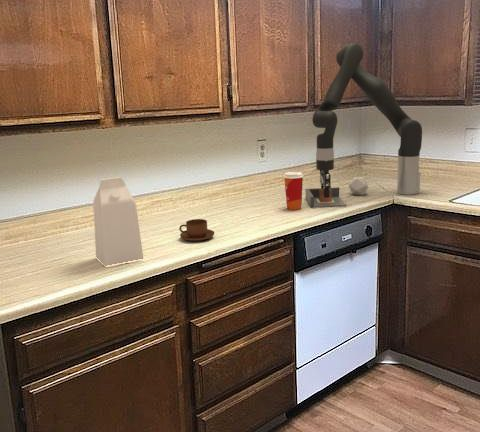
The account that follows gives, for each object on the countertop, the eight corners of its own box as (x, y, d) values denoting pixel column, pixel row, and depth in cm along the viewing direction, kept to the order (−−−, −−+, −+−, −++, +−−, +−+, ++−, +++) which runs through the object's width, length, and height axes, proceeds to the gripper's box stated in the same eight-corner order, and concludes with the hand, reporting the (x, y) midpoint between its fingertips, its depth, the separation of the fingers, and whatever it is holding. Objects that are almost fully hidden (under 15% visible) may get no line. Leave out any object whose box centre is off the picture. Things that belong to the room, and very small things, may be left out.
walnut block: (318, 199, 239) (318, 188, 238) (330, 199, 239) (330, 187, 238) (320, 202, 234) (320, 190, 233) (331, 201, 234) (331, 190, 233)
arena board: (338, 197, 245) (338, 187, 244) (346, 206, 228) (346, 195, 227) (305, 198, 245) (305, 188, 244) (310, 207, 228) (310, 197, 227)
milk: (132, 251, 179) (125, 173, 173) (143, 260, 169) (136, 178, 163) (96, 258, 174) (87, 178, 167) (105, 268, 164) (96, 183, 157)
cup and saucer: (184, 245, 184) (182, 227, 182) (177, 236, 195) (176, 219, 193) (218, 241, 187) (217, 223, 185) (210, 232, 198) (209, 216, 197)
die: (357, 198, 244) (370, 181, 243) (342, 187, 248) (355, 170, 246) (361, 201, 252) (374, 184, 250) (346, 190, 255) (359, 174, 254)
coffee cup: (289, 205, 234) (288, 171, 230) (307, 207, 229) (306, 172, 226) (280, 209, 227) (279, 174, 223) (298, 211, 222) (298, 175, 219)
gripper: (314, 156, 239) (314, 192, 243) (318, 161, 225) (318, 199, 229) (331, 155, 239) (331, 191, 243) (336, 160, 225) (336, 198, 229)
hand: (325, 195), depth 236 cm, fingers open, 8 cm apart
